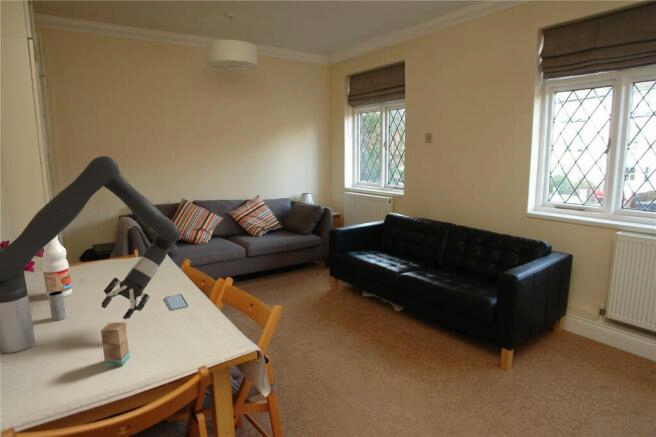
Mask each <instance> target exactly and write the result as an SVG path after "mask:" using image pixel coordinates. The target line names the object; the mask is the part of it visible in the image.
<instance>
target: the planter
mask: <svg viewBox="0 0 656 437" xmlns="http://www.w3.org/2000/svg"><path fill="white" fill-rule="evenodd" d="M48 296H49V298H48V303H49V307H50V308H49V309H50V315H51V320H52V321H54V322H57V321H58V322H59V321H62V320H64V319H66V318H67V313H66V306H65V299H64V297H63V292H62V291H55V292H51V293H49V294H48Z"/></svg>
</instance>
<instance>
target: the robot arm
mask: <svg viewBox="0 0 656 437" xmlns="http://www.w3.org/2000/svg"><path fill="white" fill-rule="evenodd" d="M103 187H104V188H105V189H107V190H109V191H110V192H111V193H113V194H114V195H115V196H116V197H117V198H118V199H120V200H121V202H122V203H123V204H124V205H125V206H127V209H129V211H131V212H132V213H133V214H134V215H135V216H136V217H137V218H138V219H139V220H140V221H141V222H142V223H143V224H144V225H145V226H147V227H148V228H151V229H152V230H153V231H154V232H155V233H156V234H157V235H156V236H155V238H154V239H153V241H152V242H151V244H149V246H148V247H147V248H146V250H145V251H144V252H143V254H142V255H141V256H140V257H139V259H138V260H137V261H136V263H135V264H134V265H133V266H132V268H131V269H130V271H129V272H128V273H127V275H126V276H125V277H124V279H123V280H120V279H119V278H118V277H114V278H113V279H112V280H111V281H110V282H109V284H108V285H107V286H106V287H105V288H104V290H103V293H104V294H105V295H106V297H104V299H103V301H102V302H101V308H103V309H106V308H107V307H108V305H109V304H110V303H111V302H112V300H113V299H112V298H115V297H117V296H122V297H124V298H126V299H127V300H129V303H130V304H129V305H130V308H128V309H127V311H126V312H125V313H124V315H123V316H122V319H123V320H128V319H130V318H131V317H132V316H133V314H134V312H136V311H137V312H138V311H139V312H141V311H142V310H143V309H144V307H145V305H146V303H147V302H148V301H149V299H150V294H148V293H146V292H145V293H144V290H145V289H146V288H147V286H148V285H149V284H150V282H151V280H152V279H153V278H154V276H155V275H156V273H157V272H158V269H159V268H160V266H161V265H162V263H163V261H164V260H165V259H166V257H167V255H168V252H169V251H170V250H171V249H172V247H173V246H174V244H175V243H177V242H178V241H179V240H180V239H181V236H182V231H181V229H180V227H179V226H177V224H176V223H175V222H174V221H172V220H171V219H169V218H168V217H167V216H166V215H164V214H163V213H162V212H161V210H159V209H158V207H156V206H155V204H153V203H152V202H151V201H150V200H149V199H148V198H147V197H145V196H144V195H143V194H141V192H139V191H138V190H137V189H136V188H134V186H133V185H131V184H130V183H129V181H128V180H127V179H126V178H125V177H124V175H123V174H122V172H121V171H120V168H119V165H118V163H117V161H116V160H115V159H113V158H112V157H111V156H107V155H101V156H97V157H95V158H93V159H92V160H91V161H90V162H89V164H87V166H86V167H85V168H84V169H83V171H81V173H80V174H79V175H78V176H77V177H76V178H75V179H74V180H73V181H72V182H71V183H70V184H68V186H66V187H65V188H64V189H62V190H60V192H59V193H58V194H56V195H55V196H54V197H53V198H52V199H50V200H49V201H48V202H47V203H46V204H44V206H43V207H41V208H40V209H39V210H38V212H36V213H35V215H34V216H33V217H32V218H31V220H30V221H29V222H28V224H27V225H26V226H25V228H23V231H22V232H21V233H20V235H18V236H17V238H15V239H14V240H13V241H12V242H11V243H10V244H8V245H7V246H5V247H1V248H0V352H2V353H4V354H10V353H13V354H14V353H17V352H20V351H25V350H26V349H28V348H29V349H30V348H31V347H33V346H34V345H36V337H35V331H34V330H35V329H34V323H33V317H32V312H31V311H32V310H31V305H30V298H29V293H28V287H27V282H26V278H25V277H26V275H25V270H24V269H25V268H27V265H28V264H29V263H30V262H31V261H32V260H33V258H35V257H36V255H37V254H38V253H39V252H40V251H42V250H43V249H44V247H45V245H47V244H48V243H49V242H50V241H51V240H53V239H54V238H55V237H56V236H57V235H58V236H59V234H60V233H61V232H63V231H64V230H65V229H66V228H67V227H68V226H69V225H70V224H71V223H72V222H73V221H74V220H76V218H77V217H79V215H80V214H81V212H82V211H83V209H84V208H85V207H86V205H87V203H89V200H90V199H91V198H92V197H93V195H95V194H97V192H99V190H101V189H102V188H103ZM117 286H119V287H118V288H117V289H115V287H117ZM139 297H140V300H139V302H138V298H139ZM137 303H138V304H137Z"/></svg>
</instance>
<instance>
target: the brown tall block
mask: <svg viewBox="0 0 656 437" xmlns="http://www.w3.org/2000/svg"><path fill="white" fill-rule="evenodd" d="M126 324H127V323H126V322H122V321H121V322H108V323H107V324H106V325H105V326H104V327H103V328H102V329H101V330H100V334H101V341H102V342H101V343H102V344H101V345H102V349H103V350H102V351H103V358H104V359H103V360H104V365H105V367H106V368H115V367H117V368H119V367H120V368H121V367H124V365H125V364H126V362H127V361H128V360H129V359H130V350H129V342H128V341H129V340H128V334H127V333H128V332H127V325H126Z"/></svg>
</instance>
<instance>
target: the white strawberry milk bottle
mask: <svg viewBox="0 0 656 437" xmlns="http://www.w3.org/2000/svg"><path fill="white" fill-rule="evenodd" d="M43 249H44V253H43V257H41V259H42V261H43V263H42V273H43V279H44V286H45V292H46V296H47V298H48V299H49V296H48V294H49V293H51V292H55V291H62V292H63V298H64V297H68V296H69V295H71V294H72V293H73V286H72V280H71V274H70V265H69V262H68V259H67V249H66V248H65V247H64V246H63V245H62V244H61V243H60V241H59V234H58V235H57V236H56V237H55V238H54V239H53V240H51V241H50V242H49V243H48V244H47V245H45V246H44V247H43Z"/></svg>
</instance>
